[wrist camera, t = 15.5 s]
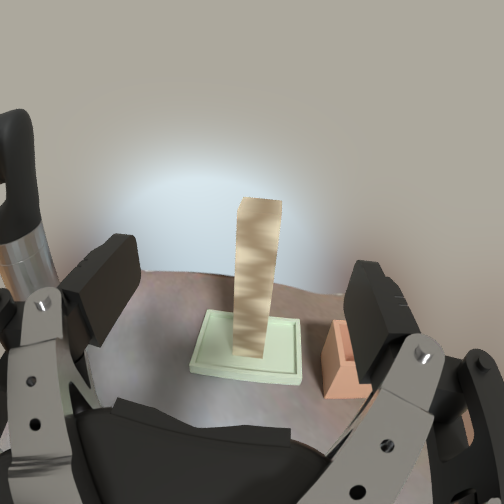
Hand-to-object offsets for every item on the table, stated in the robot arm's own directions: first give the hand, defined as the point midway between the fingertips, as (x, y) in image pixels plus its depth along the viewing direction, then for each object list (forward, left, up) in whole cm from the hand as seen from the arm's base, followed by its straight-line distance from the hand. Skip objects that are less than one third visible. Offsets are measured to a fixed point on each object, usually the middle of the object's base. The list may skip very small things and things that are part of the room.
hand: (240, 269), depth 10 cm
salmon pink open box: (+2, +19, -25) cm, 31 cm away
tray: (-11, +13, -25) cm, 30 cm away
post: (-11, +13, -24) cm, 30 cm away
